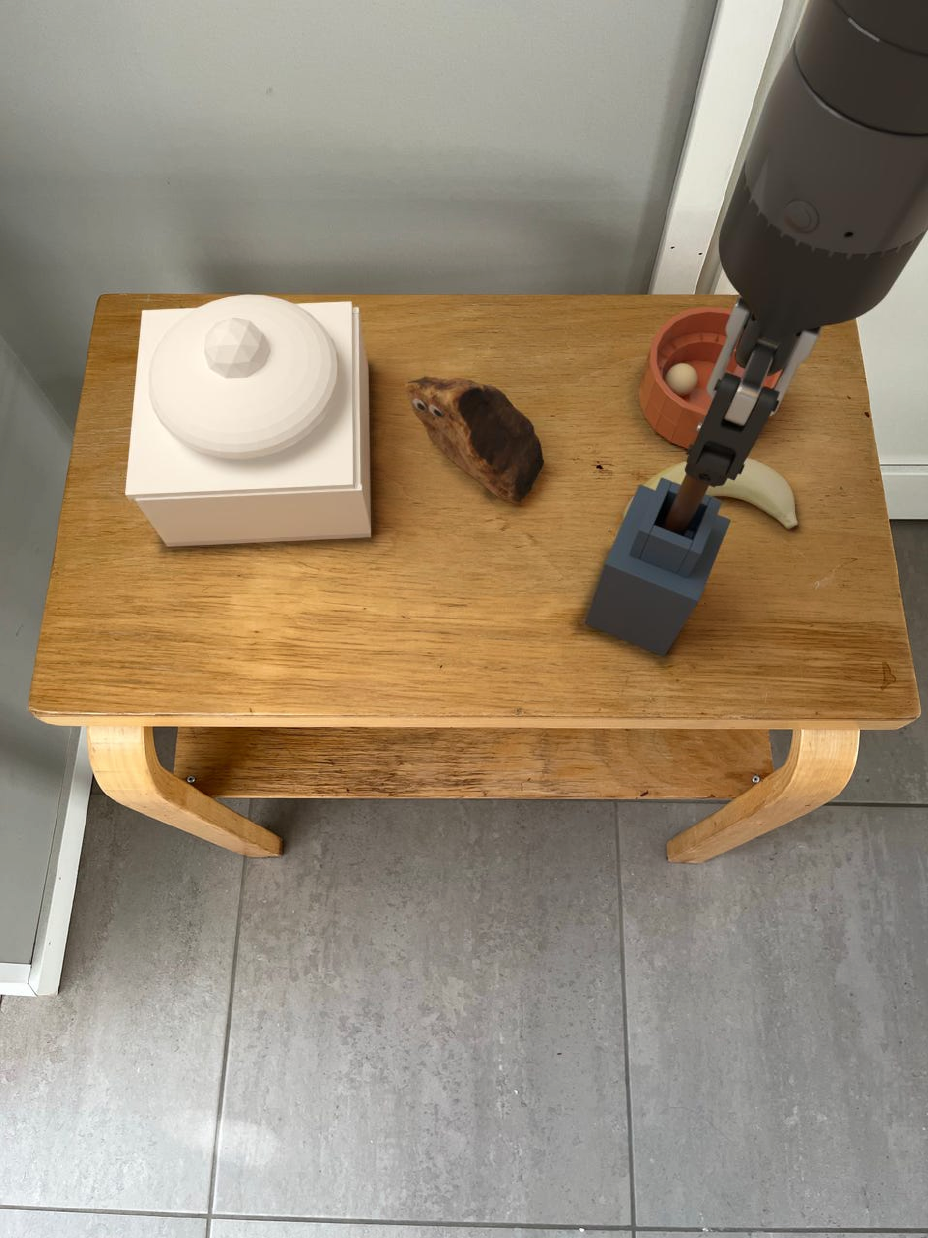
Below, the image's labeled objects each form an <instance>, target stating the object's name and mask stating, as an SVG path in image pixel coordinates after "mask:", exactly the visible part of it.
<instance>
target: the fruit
mask: <svg viewBox="0 0 928 1238" xmlns="http://www.w3.org/2000/svg"><path fill="white" fill-rule="evenodd" d="M686 461H687V460H685V461H681V462H679V463H676V464H674V465H671V466H669V467H667V468H665V469H663V470H661V471H659V472H657V473H656V474H655V475H653V476H652V477H650V478H649V479H648V480H647V481H646V482H645V483H643V484H642V485H643V486H645V487H648V488H651V489H653V490H656V488H657V486H658V483H659V481H660V479H661V477H662V478H665V479H667V480H670V481H672V482H675V483H678V484H680V485H681V484H682V482H683V479H684V477H685V475H686V472H685V467H686V464H687V462H686ZM744 465H745V466H744V469H743V471H742V473H741V475H740V474H738V475H737V477H736V479H735V480H731V479H729V478H728V479H727V480H726V482H725V484H724V485H723V486H716V487H715V488H714V487H712V486H709V487H708V489H707V491H706V493H705V494H706V495H709V496H711V497H730V498H733V499H737V500H738V499H739V500H742V501H745V502H747V503H750V504H751V505H753V506H756V507H757V508H758V509H759V510H761V511H763V512H765V513H767V514H768V515H769V516H770V517H773V518H774V519H776V520H777V521H778V522H780V523H781V524H782V525H783V526H784V528H785V529H787V530H790V529H792V528H793V527H795V526H798V525H799V522H798V519H797V514H796V508H795V507H796V504H795V497H794V493H793V491H792V488H791V486H790V484H789V483H788V481H787V480H786V479H785V478H784V477H783V476H782V475H781V473H779V472H777V471H776V470H774V469H773V468H772V467H770V466H768V465H766V464H765V463H763V462H760V461H758V460H755V459H752V458H748V457H747V459H746V460H745V462H744ZM633 498H634V495H633V496H632V497H631V499H630V500H629V501H628V502H627V504H626V507H625V508H624V510H623V512H622V521H623V520H624V518H625V516H626V514H627V511H628V509H629V507H630V505H631V502H632V500H633Z"/></svg>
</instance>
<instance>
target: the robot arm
mask: <svg viewBox="0 0 928 1238" xmlns="http://www.w3.org/2000/svg"><path fill="white" fill-rule="evenodd" d="M927 232H928V0H808V2H807V4H806V6H805V10H804V12H803V15H802V18H801V21H800V23H799V27H798V29H797V31H796V33H795V36H794V38H793V40H792V43H791V45H790V48H789V50H788V52H787V54H786V56H785V57H784V59H783V61H782V63H781V64H780V67H779V69H778V70H777V73H776V75H775V77H774V79H773V81H772V84H771V86H770V87H769V90H768V93H767V95H766V98H765V100H764V103H763V105H762V108H761V111H760V115H759V117H758V121H757V124H756V126H755V129H754V132H753V135H752V137H751V140H750V144H749V147H748V149H747V152H746V155H745V158H744V161H743V164H742V167H741V169H740V172H739V175H738V179H737V180H736V184H735V186H734V190H733V193H732V195H731V198H730V201H729V204H728V206H727V210H726V212H725V215H724V219H723V221H722V225H721V227H720V231H719V237H718V256H719V261H720V265H721V267H722V269H723V272H724V274H725V276H726V278H727V280H728V282H729V283H730V285H731V286H732V287H733V288H734V290H735V291H736V292H737V293H738V296H737V298H736V301H735V304H734V306H733V309H731V310H732V313H731V315H730V318H729V320H728V322H727V325H726V334H727V339H726V341H725V344H724V346H723V349H722V351H721V353H720V356H719V358H718V360H717V363H716V365H715V368H714V370H713V372H712V375H711V377H710V379H709V382H708V384H707V393H708V394H709V396H710V397H711V399H712V402H711V404H710V407H709V409H708V411H707V414H706V416H705V418H704V421H703V423H701V422H699V424H698V427H697V429H696V431H695V432H697V433H698V435H697V437H696V439H695V442H694V444H693V445H692V444H690V446H689V448H688V449H686V453H685V455H688V456H687V459H686V460H685V461H686V462H687V464H686V467H685V472H686V473H687V474H688V475H689V476H690V477H689V478H691V479H694V480H696V481H699V482H701V483H704V484H707V485H709V486H712V487H714V488H715V487H716V486H723V485H724V484H725V482H726V480H727V479H728V478H729V479H731V480H735V479H736V477H737V475H738V474H740V475H741V473H742V471H743V469H744V466H745V465H744V462H745V460H746V459H747V458H748V456H749V454H751V451H752V449H753V447H754V445H755V444H756V442H757V440H758V438H759V436H760V434H761V433H762V431H763V429H764V427H765V425H766V423H767V421H768V420H769V417H772V416H773V415H775V414H776V413H777V411H778V410H779V407H780V405H781V404H782V401H783V399H784V397H785V395H786V393H787V392H788V389H789V386H790V384H791V383H792V380H793V379H794V376H795V374H796V372H797V370H798V368H799V365H800V364H801V363H803V362H805V361H806V360H807V359H809V357H810V355H811V353H812V352H813V349H814V347H815V345H816V343H817V341H818V339H819V337H820V335H821V332H822V330H823V327H826V326H827V327H828V326H832V325H839V324H843V323H846V322H849V321H852V320H855V319H857V318H859V317H862V316H863V315H865V314H867V313H869V312H870V311H872V310H873V309H875V307H877V306H878V305H879V304H880V303H881V302H882V301H884V299H885V298H886V296H887V295H888V294H889V292H890V291H891V290H892V289H893V287H894V285H895V283H896V282H897V280H898V278H899V277H900V276H901V273H902V272H903V271H904V269H905V268H906V266H907V264H908V262H909V261H910V260H911V257H912V256H913V255H914V253H915V252H916V250H917V248H918V247H919V245H920V244H921V242H922V240H923V239H924V237H925V235H926V234H927ZM743 329H744V330H743ZM742 330H743V332H742ZM741 332H742V334H741ZM740 335H741V337H740ZM739 337H740V339H739ZM738 339H739V341H738ZM737 342H738V344H737ZM736 344H737V346H736ZM735 346H736V352H735V361H736V363H737V364H738V365H739V366H740V367H741V368H743V369H745V370H744V373H743V375H742V377H738V376H736V375H733V374H730V373H727V372H726V367H727V365H728V363H729V360H730V358H731V356H732V353H733V351H734V349H735ZM780 370H782V371H781V373H780V376H779V378H778V380H777V382H776V384H775V386H774V387H773V388H772V389H771V388H769V387H766V386H763V383H764V381H765V378H766V376H771V375H774V374H775V373H777V372H779V371H780ZM762 386H763V388H762ZM729 404H730V405H729Z"/></svg>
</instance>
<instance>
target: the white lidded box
mask: <svg viewBox="0 0 928 1238" xmlns="http://www.w3.org/2000/svg"><path fill="white" fill-rule="evenodd" d="M360 313H361V312H360V308H359V306H355V307H353V302H352V301H351V300H349V301H329V302H328V301H327V302H325V301H324V302H309V303H308V302H305V303H293V302H290V301H289V300H285V299H283V298H280V297H275V296H271V295H270V296H269V295H265V294H240V295H239V294H238V295H231V296H226V297H222V298H218V299H215V300H212V301H209V302H207V303H205V304H203V305H201V306H197V307H190V308H189V307H187V308H185V307H184V308H164V309H163V308H162V309H142V311H141V319H140V331H139V341H138V352H137V361H136V373H135V374H136V375H135V384H134V386H135V387H134V394H133V407H132V417H131V425H130V426H131V427H130V437H129V438H130V439H129V449H128V459H127V470H126V480H125V481H126V482H125V490H124V491H125V493H124V496H125V497H126V498H127V500H128V501H129V500H130V501H131V500H134V502H135V504H136V505H138V507H139V509H140V510H141V512H142V513H143V515H144V516H145V518H147V521H148V522H149V523H150V524H151V526H152V527H153V528H154V530H155V531H156V533H157V534H158V535H159V537H160V539H161V540H162V541H163V543H164V544H165V546H166V547H167V548H168V547H169V548H170V547H171V548H172V547H189V546H190V547H193V546H212V545H213V546H214V545H215V546H216V545H232V544H254V543H255V544H257V543H274V542H275V543H277V542H297V541H299V542H300V541H318V540H319V541H320V540H340V539H342V540H343V539H361V538H363V539H365V538H372V508H371V505H372V503H371V501H372V497H371V496H372V495H371V444H370V443H371V440H370V439H371V437H370V434H371V433H370V381H369V380H370V379H369V378H370V373H369V363H368V356H367V349H366V344H365V338H364V332H363V325H362V318H361V314H360Z"/></svg>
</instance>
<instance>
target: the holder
mask: <svg viewBox="0 0 928 1238" xmlns="http://www.w3.org/2000/svg"><path fill="white" fill-rule="evenodd" d="M643 485H644V484H638V486H637V489H636V491H635V493H634V495H633V496H634V498H633V500H632V502H631V505H630V507H629V509H628V511H627V514H626V516H625V518H624V520H623V519H622V522H621V525H620V527H619V529H618V532H617V534H616V537H615V538H614V541H613V543H612V546H611V548H610V550H609V553H608V555H607V557H606V559H605V562H604V564H603V567H602V570H601V572H600V575H599V579H598V581H597V585H596V587H595V591H594V593H593V596H592V599H591V602H590V605H589V607H588V610H587V613H586V617H585V619H584V623H583V624H584V625H587V626H588V627H591V628H593V629H596V630H599V631H601V632H603V633H604V634H605V633H606V634H608V635H610V636H613V637H615V638H618V639H620V640H623V641H625V642H627V643H630V644H631V645H634V646H637V647H639V648H642V649H643V650H646V651H649V652H651V653H652V654H656V655H658V656H661V657H665V656H666V654H667V653H668V651H669V650H670V648H671V646H672V645H673V643H674V642H675V640H676V639H677V637H678V636H679V634H680V632H681V631H682V629H683V628H684V626H685V624H686V623H687V622H688V620H689V618H690V617H691V615H692V613H693V612H694V610H695V609H696V607H697V605H698V604H699V602H700V600H701V598H702V595H703V592H704V590H705V587H706V585H707V583H708V580H709V577H710V575H711V572H712V569H713V567H714V565H715V562H716V560H717V557H718V555H719V551H720V549H721V547H722V544H723V542H724V539H725V537H726V534H727V531H728V529H729V526H730V525H731V518H728V517H725V516H722V515H719V511H720V509H721V506H722V504H723V500H722V499H719V498H717V497H715V496H712V497H711V496H709V495H706V494H705V495H704V497H703V499H702V501H701V503H700V505H699V507H698V509H697V511H696V513H695V515H694V517H693V519H692V521H691V523H690V525H689V527H688V529H687V531H686V533H685V535H684V536H681V535H678V534H676V533H673V532H671V531H668V530H666V529H663V528H662V527H663V524H664V522H665V520H666V518H667V515H668V513H669V511H670V509H671V506H672V504H673V502H674V500H675V497H676V495H677V493H678V491H679V488H680V486H681V485H680V484H678V483H675V482H672V481H670V480H667V479H665V478H662V477H661V479H660V481H659V483H658V486H657V488H656V490H653V489H651V488H648V487H645V486H643Z"/></svg>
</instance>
